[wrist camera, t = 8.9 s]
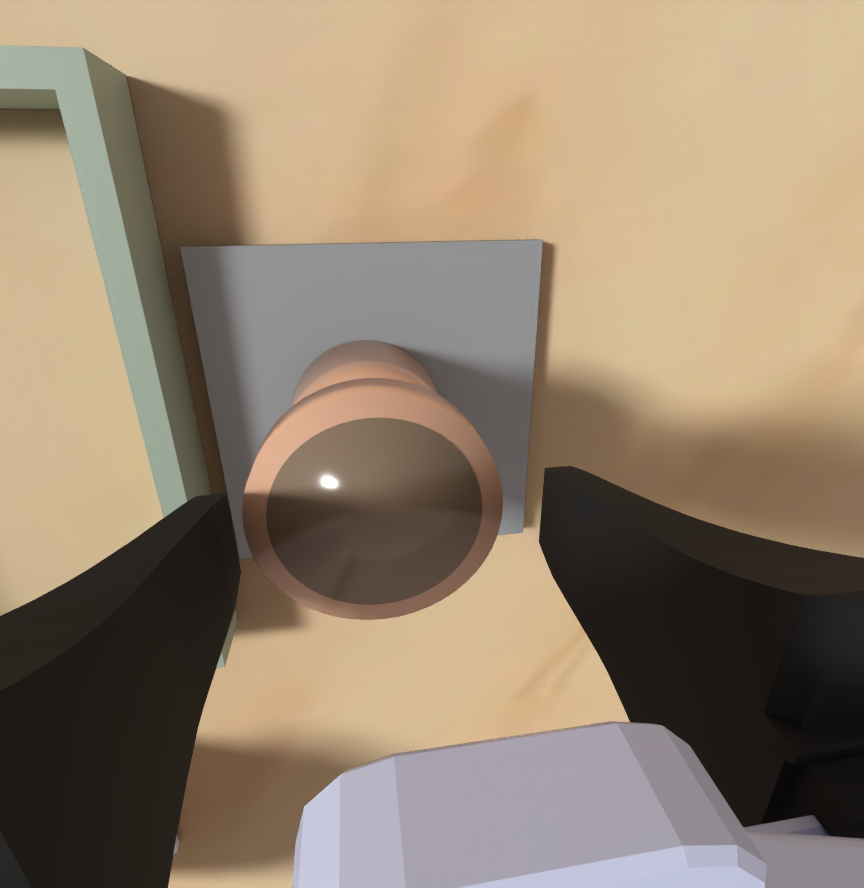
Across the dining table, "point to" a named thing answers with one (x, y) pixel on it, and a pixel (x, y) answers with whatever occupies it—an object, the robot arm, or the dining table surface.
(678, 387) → the dining table surface
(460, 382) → the slate mat
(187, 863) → the dining table surface
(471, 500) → the terracotta pot
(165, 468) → the frame
